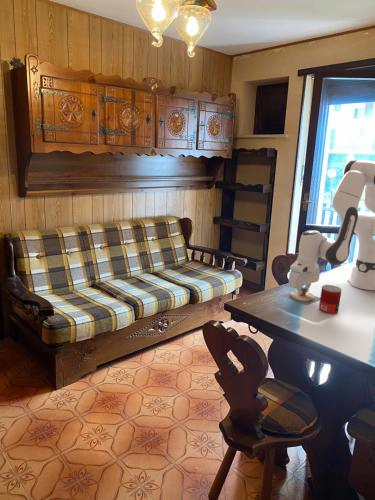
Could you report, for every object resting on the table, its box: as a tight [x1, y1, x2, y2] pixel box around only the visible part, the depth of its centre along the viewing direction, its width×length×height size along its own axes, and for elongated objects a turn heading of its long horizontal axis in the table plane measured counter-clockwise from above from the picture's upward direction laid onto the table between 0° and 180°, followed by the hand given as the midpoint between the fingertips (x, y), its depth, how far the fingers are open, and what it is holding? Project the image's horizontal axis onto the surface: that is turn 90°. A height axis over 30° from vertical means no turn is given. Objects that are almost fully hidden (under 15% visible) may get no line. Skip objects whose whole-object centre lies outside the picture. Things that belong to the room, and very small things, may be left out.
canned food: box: [318, 284, 342, 315], centre depth 168 cm, size 8×8×11 cm
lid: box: [289, 287, 315, 302], centre depth 183 cm, size 11×11×4 cm
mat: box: [280, 289, 320, 306], centre depth 183 cm, size 14×14×1 cm
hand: (302, 293), depth 183 cm, fingers open, 4 cm apart
